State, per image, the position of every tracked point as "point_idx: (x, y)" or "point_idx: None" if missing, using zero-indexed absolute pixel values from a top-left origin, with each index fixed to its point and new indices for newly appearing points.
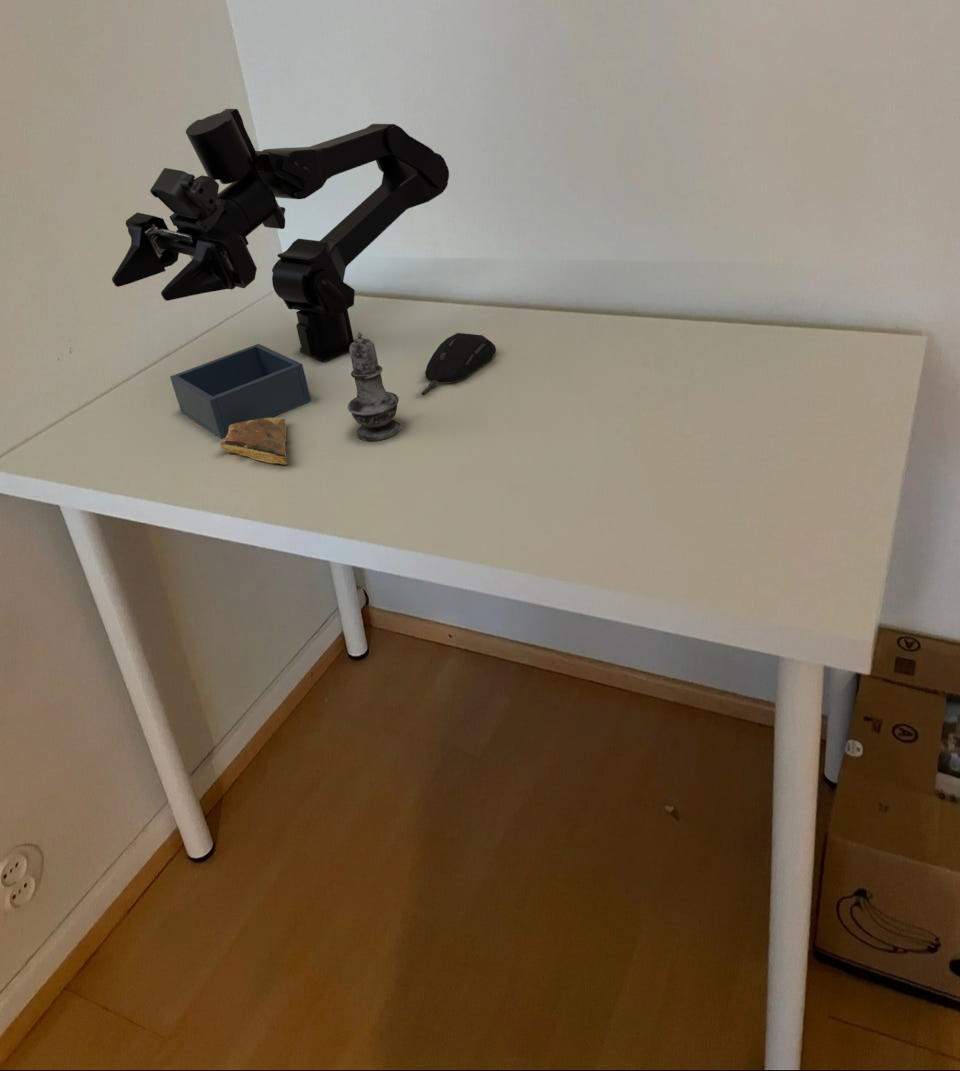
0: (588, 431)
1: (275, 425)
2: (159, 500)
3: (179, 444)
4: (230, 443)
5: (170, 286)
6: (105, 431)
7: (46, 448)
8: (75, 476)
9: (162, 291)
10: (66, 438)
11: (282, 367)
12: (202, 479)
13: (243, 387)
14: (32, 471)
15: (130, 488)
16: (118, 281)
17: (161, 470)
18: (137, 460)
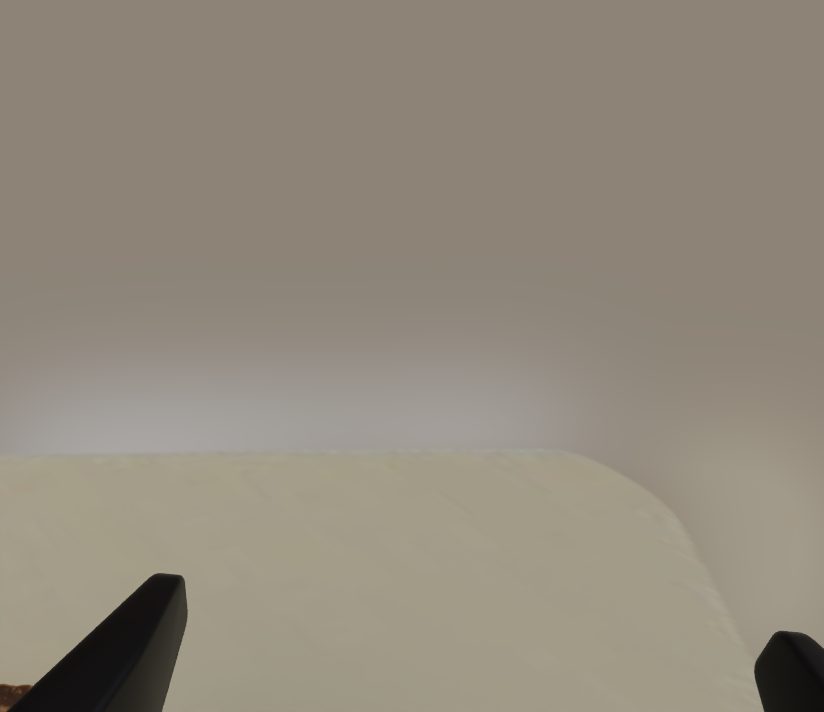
0: None
1: None
2: (119, 456)
3: (269, 698)
4: (2, 692)
5: (100, 629)
6: (578, 679)
7: (623, 549)
8: (418, 477)
9: (164, 578)
10: (635, 605)
11: None
12: (53, 557)
13: None
14: (535, 466)
15: (235, 474)
16: (777, 676)
17: (214, 558)
18: (327, 578)
